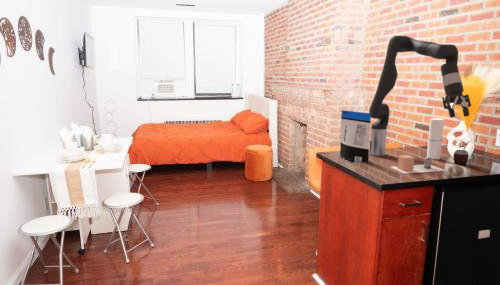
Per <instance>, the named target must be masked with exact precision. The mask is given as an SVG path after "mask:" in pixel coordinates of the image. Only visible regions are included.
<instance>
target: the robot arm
mask: <svg viewBox="0 0 500 285" xmlns="http://www.w3.org/2000/svg"><path fill="white" fill-rule="evenodd" d="M406 52H407V53H408V52H413V53H416V54H418V55H421V56H425V57H430V58H433V59H435V60H445V63H443V64H442V65H441V66H440V72H441V76H442V77H441V78H442V84H443V89H444V93H445V95H444V96H442V97H441V99H442V105H443V109H444V110H447V111H448V115H449V117H450V118H451V119H452V118H456V112H455V109H454V108H455V106H457V105H458V106H459V107H460V108H462V114H463V116H464V117H466V118H467V117H469V116H470V110H469V108H470V107H472V103H471V100H470V99H471V98H470V96H469V94H465V95H464V94H463V93H464V92H465V90H464V85H463V81H462V80H463V79H462V78H461V75H460V70H459V67H458V62H459V49H458V47H457V46H456V45H455V44H446V43H445V44H443V43H442V44H441V43H438V42H432V41H426V40H418V39H415V38H413V37H410V36H408V35H393V36H392V37H390V39H389V41H388V44H387V50H386V54H385V59H384V64H383V67H382V70H381V73H380V77H379V79H378V80H379V82H378V85H377V89H376V91H375V93H374V97H373V99H372V102H371V103H370V107H369V111H368V113H371V115H370V116H371V118H372V119H377V120H376V121H375V122H374V123H373V122H372V124H371V125H370V139H369V156H374V157H375V156H376V157H383V156H385V155H386V146H387V130H388V129H387V128H388V124H389V119H390V106H389V104H387V103H383V101H384V100H385V98H386V97H387V96H388V95H389V93H390V92H391V91H392V90H393V89H394V87H395V86H396V82H397V79H398V70H397V66H396V59H397V55H398V53H406Z"/></svg>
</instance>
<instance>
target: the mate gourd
mask: <svg viewBox="0 0 500 285" xmlns="http://www.w3.org/2000/svg"><path fill="white" fill-rule="evenodd" d="M469 143H471V140H469V141H467V142H466V143H465V145H464V147H463V149H457V150H455V151H454V152H453V164H454V165H458V166H461V165H462V166H467V165H468V164H467V162H468V161H469V151H468V150H466V147H467V145H468V144H469Z"/></svg>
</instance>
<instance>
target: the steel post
mask: <svg viewBox="0 0 500 285" xmlns="http://www.w3.org/2000/svg"><path fill="white" fill-rule="evenodd" d="M423 160H424V161H423V165H424V168H426V169H431V165H432V161H433V159H432V158H430V157H427V156H425V157H424V159H423Z"/></svg>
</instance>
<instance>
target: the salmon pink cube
mask: <svg viewBox="0 0 500 285" xmlns="http://www.w3.org/2000/svg"><path fill="white" fill-rule="evenodd" d="M414 165H415V157H414V156H411V155H408V154H405V155H404V154H401V155H397V168H398V169H400V170H402V171H413V168H414Z"/></svg>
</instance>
